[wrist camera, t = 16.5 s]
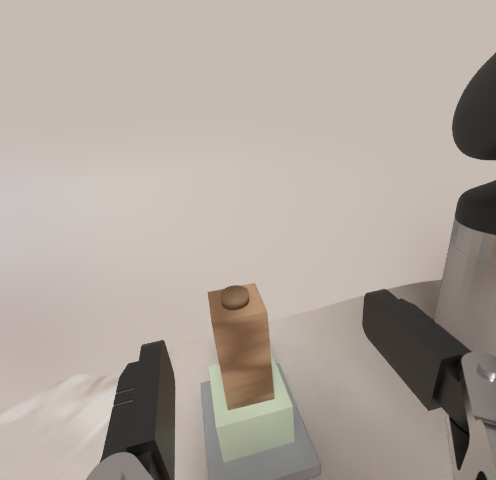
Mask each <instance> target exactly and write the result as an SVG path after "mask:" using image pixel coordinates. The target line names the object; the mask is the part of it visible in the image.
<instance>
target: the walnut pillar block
mask: <svg viewBox="0 0 496 480" xmlns="http://www.w3.org/2000/svg"><path fill="white" fill-rule="evenodd" d="M208 298H209V305H210V313H211V321H212V327H213V332H214V338H215V343H216V349H217V354H218V359H219V365H220V370H221V376H222V381H223V387H224V392H225V397H226V403H227V408H228V411H229V410H233V409H237V408H241V407H245V406H249V405H253V404H257V403H261V402H265V401H269V400H273V399H275V397H274V386H273V374H272V363H271V351H270V340H269V328H268V317H267V311H266V308H265V306H264V304H263V301H262V299H261V296H260V294H259V291H258V289H257V287H256V284H255V283H253V284H249V285H243V286H230V287H227V288H225V289H222V290H217V291H212V292H208Z"/></svg>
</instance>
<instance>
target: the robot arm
mask: <svg viewBox="0 0 496 480" xmlns="http://www.w3.org/2000/svg"><path fill="white" fill-rule="evenodd" d="M452 131H453V138H454V141H455V143H456V145H457V147H458V148H459V150H461V152H462V153H464V154H465V155H467V156H469V157H472V158H476V159H480V160H496V53H495V54H494V55H493V56H492V57H491V58H490V59H489V60H488V61H487V62H486V63H485V64H484V65H483V66H482V67H481V68H480V69H479V70H478V72H477V73H476V74H475V76H474V77H473V78H472V80H471V81H470V82H469V84H468V85H467V87H466V89H465V90H464V92H463V94H462V96H461V98H460V100H459V102H458V104H457V107H456V110H455V113H454V117H453V124H452ZM362 324H363V329H364V332H365V334H366V336H367V338H368V339H369V340H370V341H371V343H372V344H373V345H374V346H375V347H376V349H377V350H378V351H379V352H380V353H381V355H382V356H383V357H384V358H385V359H386V361H387V362H388V363H389V364H390V365H391V366H392V368H393V369H394V370H395V371H396V372H397V374H398V375H399V376H400V377H401V378H402V380H403V381H404V382H405V383H406V384H407V386H408V387H409V388H410V389H411V390H412V392H413V393H414V394H415V395H416V396H417V398H418V399H419V400H420V401H421V402H422V404H423V405H424V406H425V407H426V408H427V409H428V411H430V410H433V409H437V408H440V407H442V408H443V409H444V410H445V412H446V417H445V421H446V428H447V435H448V443H449V450H450V457H451V464H452V471H453V480H496V180H495V181H493V182H490V183H487V184H484V185H481V186H478V187H475V188H473V189H470V190H468V191H466V192H464V193H463V194H462V195H461V197H460V198H459V201H458V203H457V208H456V212H455V219H454V223H453V228H452V233H451V239H450V244H449V249H448V254H447V259H446V264H445V269H444V274H443V278H442V283H441V288H440V293H439V298H438V303H437V307H436V312H435V317H434V320H433V319H432V318H430V317H429V316H426V314H425V313H424V312H423V311H422V310H420V309H419V308H418V307H417V306H416V305H414V304H412V303H410V302H407V301H405V300H403V299H397V298H396V297H395V296H394V295H393V294H391V293H390V292H389V291H388V290H386V289H382V290H378V291H374V292H369V293H366V294H365V297H364V308H363V321H362ZM174 469H175V378H174V372H173V368H172V365H171V362H170V358H169V355H168V352H167V348H166V345H165V342H164V340H161V341H157V342H152V343H148V344H144V345H142V346H141V351H140V358H139V361H137V362H134V363H129V364H128V365H127V366H126V368H125V369H124V371H123V373H122V374H121V376H120V377H119V381H118V386H117V390H116V395H115V400H114V407H113V409H112V413H111V418H110V422H109V427H108V431H107V436H106V441H105V445H104V450H103V454H102V458H101V461H100V463H99V464H98V465H97V466H96V467H95V468H94V469H93V471H92V472H91V473H90V475H89V476H88V478H87V479H86V480H174Z"/></svg>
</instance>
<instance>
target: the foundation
mask: <svg viewBox="0 0 496 480" xmlns="http://www.w3.org/2000/svg"><path fill="white" fill-rule="evenodd" d="M271 363H272V374H273V386H274V397H275V399H273V400H269V401H265V402H261V403H257V404H253V405H249V406H245V407H241V408H237V409H233V410H229V411H228V408H227V403H226V397H225V392H224V387H223V381H222V376H221V370H220V365H219V363H218V364H214V365H210V366H209V374H210V381H208V382H204V383H201V395H202V407H203V419H204V431H205V443H206V455H207V467H208V480H305V479H308V478H311V477H314V476H317V475H320V462H319V460H318V457H317V455H316V453H315V450H314V448H313V445H312V443H311V440H310V438H309V436H308V433H307V431H306V428H305V426H304V423H303V421H302V418H301V416H300V414H299V411H298V409H297V406H296V404H295V401H294V399H293V396H292V394H291V392H290V389H289V387H288V384H287V382H286V379H285V377H284V374H283V372H282V370H281V367H280V365H279V364H276V363H275V360H274V358H273V355H272V353H271Z"/></svg>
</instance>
